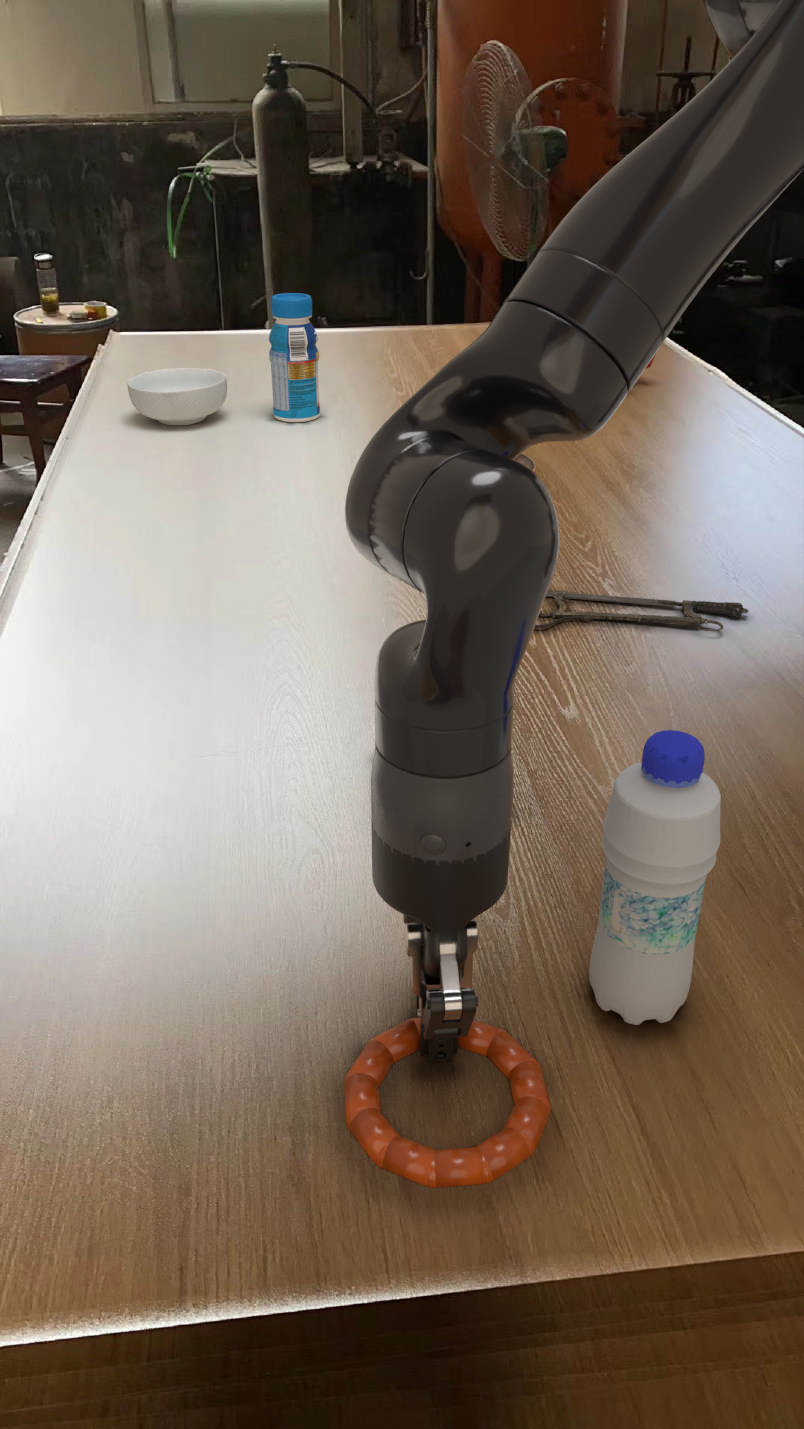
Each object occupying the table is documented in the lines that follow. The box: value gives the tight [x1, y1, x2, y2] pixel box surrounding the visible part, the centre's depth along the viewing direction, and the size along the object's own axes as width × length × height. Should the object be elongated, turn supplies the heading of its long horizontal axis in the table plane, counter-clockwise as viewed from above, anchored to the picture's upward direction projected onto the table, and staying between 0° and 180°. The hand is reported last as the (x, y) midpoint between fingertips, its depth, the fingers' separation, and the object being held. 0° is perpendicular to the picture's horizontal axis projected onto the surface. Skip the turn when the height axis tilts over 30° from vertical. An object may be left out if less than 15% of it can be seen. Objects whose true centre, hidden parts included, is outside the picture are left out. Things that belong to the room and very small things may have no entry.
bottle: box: [588, 729, 722, 1026], centre depth 65 cm, size 7×7×20 cm
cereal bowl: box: [126, 367, 228, 426], centre depth 187 cm, size 17×17×7 cm
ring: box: [343, 1017, 552, 1189], centre depth 62 cm, size 12×12×2 cm
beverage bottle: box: [268, 292, 321, 423], centre depth 185 cm, size 8×8×20 cm
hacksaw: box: [534, 590, 750, 632], centre depth 119 cm, size 24×10×2 cm, turn 76°
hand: (435, 1041), depth 67 cm, fingers closed on ring, 2 cm apart
